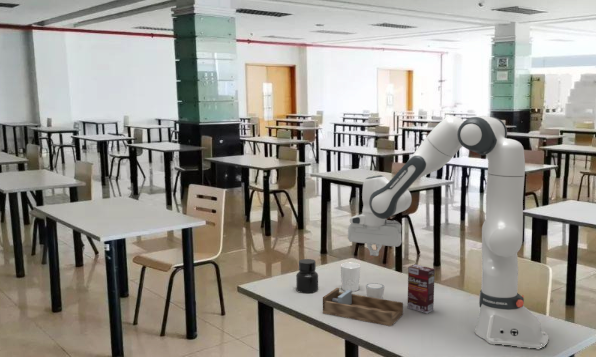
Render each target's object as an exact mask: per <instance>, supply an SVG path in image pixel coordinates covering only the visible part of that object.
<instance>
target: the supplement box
mask: <svg viewBox="0 0 596 357" xmlns="http://www.w3.org/2000/svg"><path fill="white" fill-rule="evenodd" d="M407 273H408V274H407V276H408V278H407V306H406V308H407V309H409V310H410V309H411V310H414V311H417V312H422V313H425V314H429V313H431V312H433V311H434V306H435V305H434V302H435V301H434V300H435V299H434V298H435V273H436V269H435V268H432V267H428V266H423V265H421V264H412V265H410V266H408V271H407Z"/></svg>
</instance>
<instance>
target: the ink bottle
mask: <svg viewBox="0 0 596 357" xmlns="http://www.w3.org/2000/svg"><path fill="white" fill-rule="evenodd" d="M295 277H296V281H295V282H296V291H297V292H298V293H303V294H308V293H309V294H310V293H312V294H313V293H315V292H317V291H318V290H319V274H318V272H317V271H316V260H315V259H311V258H303V259H300V260H298V272H296V276H295Z"/></svg>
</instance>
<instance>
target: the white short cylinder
mask: <svg viewBox="0 0 596 357" xmlns="http://www.w3.org/2000/svg"><path fill="white" fill-rule="evenodd" d="M365 288H366V289H365V290H366V296H367V297H373V298H379V299H384V292H385V285H383V284H382V283H377V282H375V283H374V282H371V283H367V284H366V285H365Z"/></svg>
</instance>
